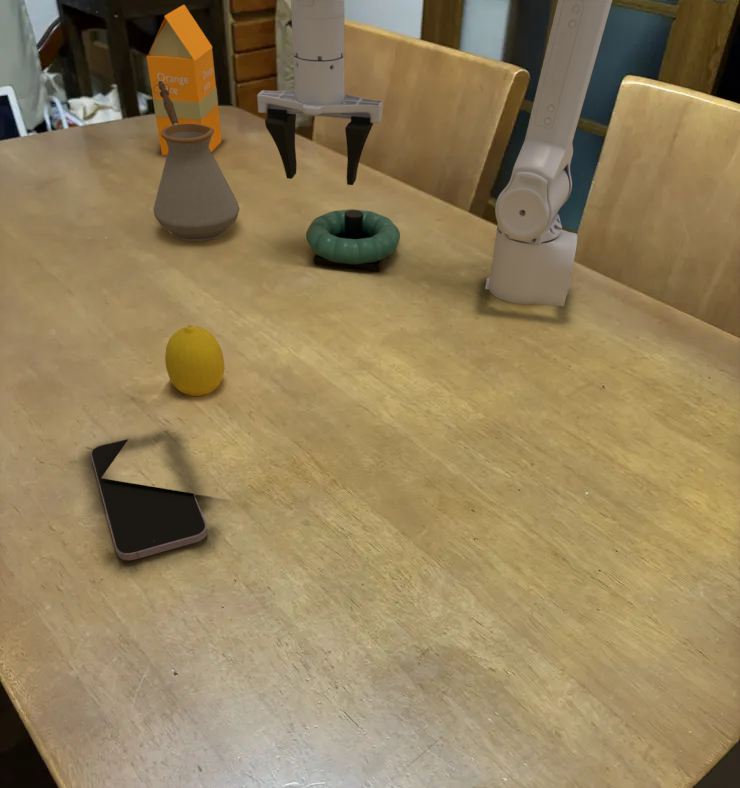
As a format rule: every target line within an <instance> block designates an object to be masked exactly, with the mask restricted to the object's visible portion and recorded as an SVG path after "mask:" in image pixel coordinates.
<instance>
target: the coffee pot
mask: <svg viewBox="0 0 740 788" xmlns="http://www.w3.org/2000/svg"><path fill="white" fill-rule="evenodd" d="M164 84H166V83H163V82H162V81H159V82H158V83H157V84H156V85H154V88H153V90H154V89H155V86H157V85H159V89H160V90H161V91H160V93H157V92H155V90H154V92H155V93H156V94H158V95H160V96H161V97H162V98H163V102H164V107H165V110H166V112H167V114H168V116H169V119H170V121H171V123H172V125H171V126H168V127H166V128H164V129H163V130H162V131H161V136H162V137H163V138H164V139H165V140H166V143H167V146H168V148H169V149H168V153H167V155H166V158H165V161H164V165H163V170H162V174H161V177H160V182H159V186H158V190H157V193H156V197H155V201H154V205H153V215H154V217H155V219H156V221H157V222H158V223H159V225H160V226H161V227H162V228H163V229H165V230H166V231H167V232H169V233H171V235H172V236H174V237H175V238H177V239H180V240H183V241H188V242H204V241H205V242H206V241H210V240H214V239H218V238H220V237H222V236H224V235H226V233H227V232H228V229H230V228H231V227H232V226H233V224H234V223H236V221H237V220H238V219H237V218H238V216H239V212H240V205H239V202H238V200H237V198H236V196H235V194H234V193H233V190H232V188H231V186H230V185H229V183H228V181H227V179H226V177H225V175H224V173H223V171H222V169H221V168H220V166H219V164H218V162H217V160H216V158H215V156H214V154H213V152H211V151H210V149H209V144H210V140H211V137H212V135H213V133H214V129H213V128H211V127H208V126H205V125H201V124H193V123H185V124H179V123H178V119H177V116H176V112H175V109H174V105H173V103H172V101H171V100H170V98H169V90H170V87H169V90H166V89H165V88H166V87H165V85H164ZM166 85H168V84H166ZM168 86H169V85H168Z"/></svg>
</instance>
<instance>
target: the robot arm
mask: <svg viewBox="0 0 740 788" xmlns="http://www.w3.org/2000/svg"><path fill="white" fill-rule="evenodd" d="M612 3H613V0H557V4H556V7H555V12H554V16H553V20H552V24H551V28H550V31H549V37H548V41H547V45H546V49H545V53H544V58H543V63H542V67H541V71H540V74H539V79H538V83H537V86H536V92H535V96H534V99H533V103H532V104H533V105H532V108H531V112H530V117H529V121H528V125H527V128H526V133H525V138H524V141H523V144H522V146H521V148H520V151H519V154H518V155H517V158H516V160H515V163H514V165H513V167H512V172H511V176H510V179H509V181H508V183H507V185H506V186H505V187H504V189H503V190H502V191H501V192H500V193H499V195H498V196H497V199H496V200H495V201H496V202H495V209H494V214H495V218H496V222H497V226H496V232H495V238H494V246H493V254H492V259H491V265H490V266H491V267H490V273H489V276H488V277H487V278H486V280H485V281H486V282H485V287H484V289H485V290H489V292H490V293H491V294H492V295H493V296H494V297H496V298H497V299H499V300H502V301H504V302H508V303H512V304H519V305H523V304H524V305H529V304H530V305H531V304H533V305H536V304H537V305H545V306H546V305H547V306H553V307H554V306H556V307H565V303H566V299H567V297H568V296H569V292H570V287H571V277H572V272H573V268H574V264H575V258H576V252H577V245H578V233H575V232H570V231H567V230H564V229H562V228H563V225H562V222H561V218H560V215H559V213H558V212H559V211H560V209H561V208H562V207H563V206H564V205H565V204H566V202H567V201H568V200H569V198H570V196H571V194H572V193H571V192H572V189H573V180H572V175H571V163H572V158H573V155H574V147H573V141H574V137H575V134H576V131H577V126H578V123H579V120H580V116H581V113H582V110H583V106H584V102H585V99H586V95H587V91H588V88H589V85H590V81H591V77H592V74H593V72H594V71H593V70H594V66H595V63H596V60H597V56H598V52H599V50H600V49H599V48H600V46H601V42H602V37H603V35H604V31H605V28H606V24H607V20H608V17H609V14H610V10H611V6H612ZM290 11H291V12H290V13H291V37H292V60H293V82H294V83H293V85H294V90H265V89H263V90H261V91H260V92H258V94H257V95H256V99H257V112H258V113H260V114H267V115H266V118H265V119H264V124H265V128H266V130H267V131H268V133H269V134H270V137H271V139H272V140H273V142H274V144H275V146H276V148H277V150H278V153H279V155H280V158H281V161H282V165H283V169H284V172H285V176H286V179H287V180H288V179H289V180H292V179H293V178H294V177H295V176H296V174H297V167H298V166H297V151H296V123H297V115H302V116H312V117H323V118H335V119H345V120H350V121H349V122H348V123H347V124H346V126H345V128H344V129H345V131H344V132H345V139H346V141H345V142H346V151H347V152H346V153H347V154H346V155H347V162H346V163H347V164H346V186H347V185H348V186H354V184H355V182H356V180H357V176H358V169H359V164H360V160H361V156H362V153H363V150H364V147H365V145H366V141H367V140H368V137H369V135H370V132H371V130H372V128H373V125H374V124H380V123H381V121H382V120H383V113H384V112H383V109H384V107H383V106H384V101H383V100H378V99H370V98H365V97H360V96H355V95H351V94H347V93H345V0H290Z"/></svg>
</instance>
